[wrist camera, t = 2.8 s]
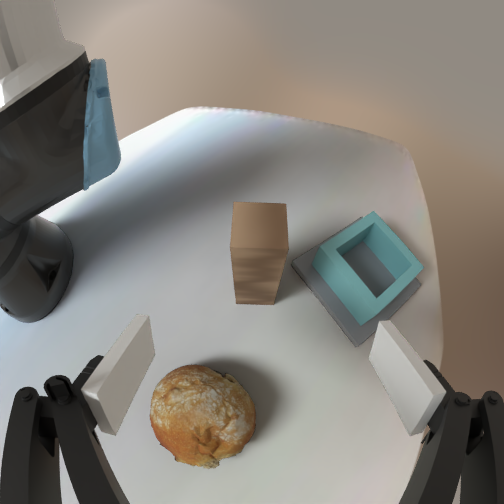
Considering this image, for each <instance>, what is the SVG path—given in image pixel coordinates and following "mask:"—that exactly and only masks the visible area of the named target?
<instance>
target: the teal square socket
mask: <svg viewBox="0 0 504 504" xmlns="http://www.w3.org/2000/svg"><path fill="white" fill-rule="evenodd" d="M291 265H292V266H293V268H294V269H295V270H296V271H297V273H298V274H299V275H300V276H301V278H302V279H303V280H304V281H305V283H306V284H307V285H308V287H309V288H310V289H311V290H312V292H313V293H314V294H315V295H316V297H317V298H318V299H319V301H320V302H321V303H322V304H323V306H324V307H325V308H326V309H327V311H328V312H329V313H330V315H331V316H332V317H333V318H334V320H335V321H336V322H337V324H338V325H339V326H340V328H341V329H342V330H343V331H344V333H345V334H346V335H347V337H348V338H349V339H350V341H351V342H352V343H353V344H354V346H355V347H357V346H359V345H360V344H362V343H363V342H364V341H365V340H366V339H367V338H368V337H369V336H371V335H372V334H373V333H374V332H375V331H376V330H377V327H378V323H379V321H387V320H388V319H389V318H390V317H391V316H392V315H393V314H394V313H395V312H396V311H397V310H398V309H399V308H400V307H401V306H402V305H403V304H404V303H405V302H406V301H407V300H408V299H409V298H410V296H411V295H412V294H413V293H414V292H415V291H416V290H417V289H418V288H419V287H420V286H421V283H420V282H419V281H418V279H417V278H416V276H417V274H418V273H419V272H420V271H421V270H422V269H423V268H424V267H423V265H422V264H421V263H420V262H419V261H418V259H417V258H416V257H415V256H414V255H413V253H412V252H411V251H410V250H409V249H408V248H407V246H406V245H405V244H404V243H403V242H402V241H401V240H400V239H399V237H398V236H397V235H396V234H395V233H394V232H393V231H392V230H391V229H390V228H389V226H388V225H387V224H386V223H385V222H384V221H383V220H382V219H381V218H380V217H379V216H378V215H377V214H376V213H375V212H374V211H373V212H371V213H370V214H368V215H367V216H365V217H364V218H363V217H360V218H359V219H357V220H356V221H354V222H353V223H351V224H350V225H348V226H347V227H345V228H344V229H342V230H340V231H339V232H337V233H336V234H334V235H333V236H331V237H330V238H328V239H326V240H325V241H323V242H322V243H320V244H319V245H317V246H315V247H314V248H312V249H311V250H309V251H308V252H306V253H304V254H303V255H301V256H300V257H298V258H296V259H295V260H293V261H292V264H291Z"/></svg>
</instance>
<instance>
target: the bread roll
mask: <svg viewBox="0 0 504 504" xmlns="http://www.w3.org/2000/svg"><path fill="white" fill-rule="evenodd" d="M255 419H256V412H255V406H254V403H253V401H252V400H251V398H250V396H249V394H248V393H247V392H246V390H244V388H243V386H242V385H239V383H238V381H237V380H236V379H235V378H234V377H233V376H231V375H229V374H226V373H225V375H224V376H223V375H222V374H221V373H219V372H217V371H214V370H211V369H210V368H208V367H205V366H201V365H186V366H182V367H179V368H177V369H175V370H173V371H171V372H170V373H168V374H167V375H166V376H165V377H164V378H163V379H162V380H161V381H160V382H159V383H158V384H157V386H156V388H155V390H154V392H153V396H152V399H151V410H150V420H151V426H152V428H153V430H154V433H155V435H156V437H157V439H158V441H160V443H161V444H160V445H162V446H164V447H165V448H166V449H167V450H169V451H170V452H171V453H172V454H173V455H174V456H175V460H176V461H177V462H182V463H187V464H190V465H192V466H195V465H197V466H198V467H201V466H203V467H204V468H208V469H210V468H216V467H217V466H219V465H220V464H219V461H220V460H222V459H223V458H228V457H231V456H235V455H236V454H237V453H240V452H241V451H242V449H243V447H244V445H245V444H246V443H248V441H249V440H250V438H251V437H252V435H253V433H254V429H255V426H256V424H255Z"/></svg>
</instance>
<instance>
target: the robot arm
mask: <svg viewBox="0 0 504 504" xmlns="http://www.w3.org/2000/svg"><path fill="white" fill-rule="evenodd" d="M120 160H121V152H120V148H119V143H118V139H117V133H116V128H115V123H114V117H113V112H112V106H111V99H110V93H109V86H108V78H107V70H106V62H105V60H104V59H93V60H91V62H90V63H89V61H88V58H87V55H86V51H85V48H84V46H83V45H80V44H77V43H74V42H71V41H68V40H65V38H64V37H63V35H62V31H61V27H60V24H59V19H58V15H57V10H56V6H55V1H54V0H0V306H1V308H2V309H3V310H4V311H5V312H6V313H7V314H8V315H10V316H11V317H13V318H15V319H17V320H19V321H21V322H25V323H30V322H35V321H37V320H39V319H41V318H43V317H44V316H46V315H47V314H48V313H49V312H50V311H51V310H52V309H53V308H54V307H55V306H56V304H57V303H58V302H59V300H60V299H61V297H62V295H63V293H64V291H65V289H66V287H67V285H68V282H69V279H70V276H71V272H72V266H73V250H72V246H71V243H70V241H69V239H68V237H67V236H66V235H65V233H64V232H63V231H62V230H61V229H60V228H59V227H58V226H57V225H56V224H54V223H52V222H50V221H48V220H46V219H44V218H42V217H40V216H38V214H40V213H41V212H43V211H45V210H46V209H48V208H50V207H51V206H53V205H55V204H57V203H58V202H60V201H62V200H64V199H66V198H67V197H69V196H71V195H73V194H75V193H77V192H79V191H80V190H82V189H83V190H84V191H85V190H87V189H88V188H89V186H90V185H92V184H94V183H96V182H98V181H100V180H102V179H103V178H105V177H107V176H109V175H111V174H112V173H113V172H115V170H116V169H117V168H118V166H119V164H120ZM154 356H155V350H154V344H153V338H152V332H151V326H150V319H149V315H139V314H137V315H136V316H135V317H134V319H133V320H132V321H131V322H130V324H129V325H128V326H127V328H126V329H125V330H124V331H123V333H122V334H121V335H120V337H119V338H118V339H117V341H116V342H115V343H114V345H113V346H112V347H111V349H110V350H109V351H108V353H107V354H106V355H105V356H100V355H98V356H96V357H95V358H93V359H91V360H90V361H89V363H88V364H87V365H86V368H84V369H83V371H82V373H80V374H79V376H78V377H77V378H76V380H75V381H74V382H73V384H71V382H70V380H69V378H67V377H66V376H63V375H55V376H53V377H50V378H49V379H48V380H46V382H45V383H44V389H45V391H46V393H47V395H48V397H46V396H39V394H38V392H37V391H36V389H34V388H33V387H24V388H22V389H20V390H19V391H18V392H17V393H16V395H15V398H14V402H13V406H12V410H11V414H10V418H9V423H8V428H7V433H6V438H5V444H4V451H3V458H2V467H1V479H0V504H62V500H61V488H60V468H59V443H60V447H61V451H62V455H63V458H64V462H65V465H66V468H67V471H68V474H69V477H70V480H71V483H72V486H73V489H74V491H75V494H76V496H77V499H78V501H79V504H130V503H129V501H128V500H127V498H126V496H125V494H124V493H123V491H122V489H121V487H120V485H119V483H118V481H117V479H116V477H115V475H114V473H113V471H112V469H111V467H110V465H109V463H108V460H107V458H106V456H105V454H104V451H103V449H102V447H101V444H100V442H99V439H98V437H97V434H96V432H95V430H94V429H95V427H96V425H97V424H98V426H99V428H100V430H101V431H102V432H105V433H108V434H112V435H115V436H116V434H117V432H118V430H119V428H120V426H121V423H122V421H123V419H124V417H125V415H126V413H127V411H128V409H129V407H130V404H131V402H132V400H133V398H134V396H135V394H136V392H137V390H138V388H139V386H140V384H141V382H142V380H143V378H144V376H145V374H146V372H147V370H148V368H149V366H150V364H151V362H152V360H153V358H154ZM369 360H370V362H371V364H372V366H373V368H374V369H375V371H376V373H377V375H378V377H379V378H380V380H381V382H382V384H383V386H384V388H385V390H386V391H387V393H388V395H389V397H390V399H391V401H392V403H393V405H394V407H395V409H396V410H397V412H398V414H399V416H400V418H401V420H402V422H403V424H404V426H405V428H406V430H407V432H408V434H409V436H412V435H415V434H419V433H422V432H423V430H424V429H425V427H426V426H427V424H428V426H429V428H430V430H429V432H428V433H427V435H426V436H425V438H424V439H423V440H422V442H421V443H422V444H423V443H424V441H425V443H424V446H423V448H422V451H421V454H420V457H419V459H418V462H417V464H416V467H415V469H414V472H413V474H412V476H411V479H410V481H409V483H408V486H407V488H406V490H405V492H404V494H403V496H402V498H401V500H400V502H399V504H452V502H453V499H454V496H455V493H456V489H457V486H458V482H459V479H460V475H461V494H460V504H504V403H503V399H502V397H501V396H500V395H499V394H498V393H497V392H495V391H487V392H485V394H484V395H483V397H482V398H481V399H473V400H471V398H470V397H469V396H468V395H467V394H464V393H462V392H455V391H454V390H453V389H452V387H451V386H450V385H449V383H448V382H447V381H446V380H445V378H444V377H442V374H441V373H440V372H438V369H437V368H436V367H435V366H434V365H433V364H432V363H430V362H429V361H427V360H424V361H423V360H422V359H421V358H420V356H419V355H418V354H417V353H416V351H415V350H414V349H413V348H412V346H411V345H410V344H409V343H408V341H407V340H406V339H405V338H404V337H403V335H402V334H401V333H400V332H399V331H398V329H397V328H396V327H395V326H394V325H393V323H392V322H391V321H390V320H387V321H379V323H378V327H377V331H376V334H375V338H374V342H373V345H372V349H371V352H370V356H369ZM483 431H484V434H483Z"/></svg>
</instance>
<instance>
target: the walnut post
mask: <svg viewBox="0 0 504 504" xmlns="http://www.w3.org/2000/svg"><path fill="white" fill-rule="evenodd" d="M288 250H289V247H288V227H287V209H286V204H280V203H252V202H234V205H233V217H232V229H231V242H230V251H231V261H232V270H233V280H234V289H235V298H236V304H256V305H274V301H275V298H276V294H277V291H278V287H279V283H280V280H281V276H282V272H283V268H284V265H285V261H286V257H287V253H288Z"/></svg>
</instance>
